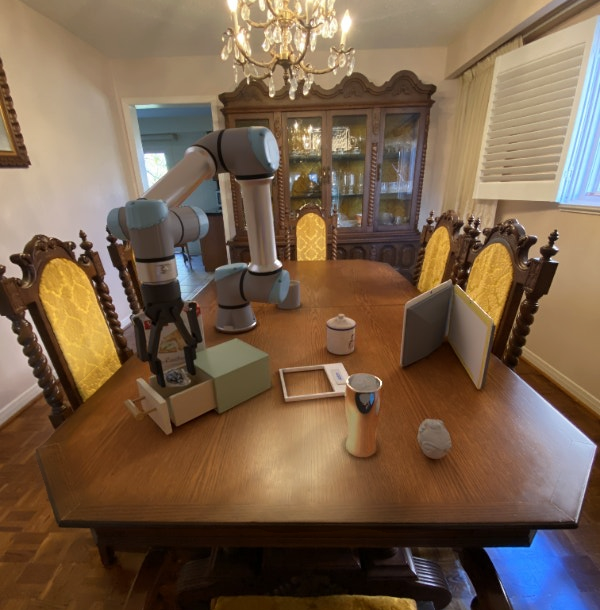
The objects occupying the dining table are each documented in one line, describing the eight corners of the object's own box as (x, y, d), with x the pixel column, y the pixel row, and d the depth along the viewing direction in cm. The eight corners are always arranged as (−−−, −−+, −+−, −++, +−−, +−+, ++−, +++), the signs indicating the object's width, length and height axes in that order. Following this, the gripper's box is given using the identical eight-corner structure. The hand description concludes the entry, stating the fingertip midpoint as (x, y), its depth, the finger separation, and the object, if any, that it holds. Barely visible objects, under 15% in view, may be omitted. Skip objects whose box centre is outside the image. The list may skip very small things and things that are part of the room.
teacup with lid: (354, 356, 105) (356, 320, 101) (324, 354, 106) (325, 319, 102) (355, 339, 116) (356, 307, 112) (328, 338, 118) (328, 306, 113)
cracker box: (156, 390, 90) (141, 315, 82) (154, 380, 95) (139, 308, 87) (210, 376, 96) (200, 305, 88) (205, 367, 101) (195, 299, 93)
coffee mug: (299, 300, 156) (298, 279, 152) (301, 308, 147) (300, 285, 143) (269, 302, 155) (268, 280, 151) (269, 310, 145) (268, 287, 142)
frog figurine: (440, 440, 70) (444, 412, 68) (455, 467, 64) (461, 436, 61) (410, 442, 70) (413, 413, 68) (423, 468, 64) (427, 438, 61)
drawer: (146, 445, 70) (138, 413, 67) (123, 416, 79) (115, 387, 76) (226, 405, 82) (222, 376, 79) (198, 384, 91) (194, 357, 88)
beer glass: (340, 436, 72) (341, 373, 67) (372, 433, 73) (377, 371, 67) (347, 460, 66) (349, 393, 60) (383, 457, 66) (388, 391, 61)
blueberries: (180, 368, 84) (179, 361, 83) (200, 378, 79) (199, 371, 78) (154, 380, 79) (153, 372, 78) (174, 391, 74) (172, 384, 73)
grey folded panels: (495, 391, 86) (510, 318, 79) (405, 388, 88) (412, 317, 81) (452, 334, 118) (461, 278, 111) (387, 333, 120) (392, 278, 113)
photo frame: (357, 390, 86) (285, 397, 83) (356, 393, 86) (285, 401, 84) (341, 362, 99) (279, 368, 97) (341, 365, 100) (279, 371, 97)
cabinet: (219, 414, 80) (214, 378, 77) (189, 389, 90) (184, 357, 87) (271, 387, 90) (269, 354, 87) (239, 368, 100) (236, 338, 97)
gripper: (114, 294, 61) (139, 403, 70) (211, 274, 74) (222, 369, 82) (101, 286, 66) (126, 389, 75) (194, 268, 79) (206, 358, 87)
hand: (177, 378), depth 78 cm, fingers closed on blueberries, 6 cm apart
